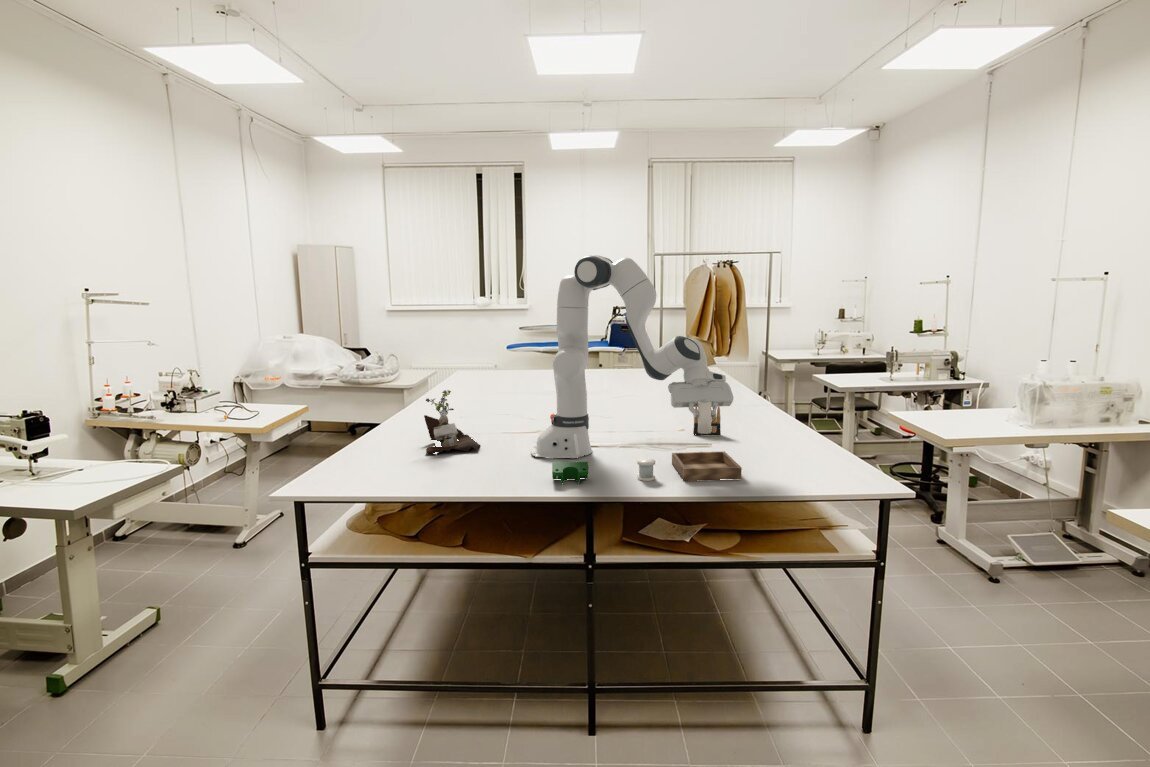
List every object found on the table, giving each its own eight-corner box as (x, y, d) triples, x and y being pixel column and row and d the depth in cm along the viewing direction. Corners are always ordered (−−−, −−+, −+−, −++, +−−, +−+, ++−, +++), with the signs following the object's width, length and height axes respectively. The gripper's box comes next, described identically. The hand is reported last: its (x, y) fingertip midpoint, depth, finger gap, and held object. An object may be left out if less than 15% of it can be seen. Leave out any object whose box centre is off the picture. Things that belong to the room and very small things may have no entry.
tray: (683, 481, 182) (683, 469, 181) (671, 464, 200) (671, 452, 199) (741, 479, 183) (741, 467, 182) (724, 462, 200) (724, 451, 200)
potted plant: (428, 463, 214) (413, 396, 215) (431, 461, 232) (417, 400, 233) (482, 450, 217) (466, 384, 219) (481, 449, 236) (467, 388, 237)
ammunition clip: (720, 434, 238) (720, 405, 236) (720, 435, 236) (721, 406, 234) (693, 434, 240) (693, 405, 238) (693, 435, 238) (694, 406, 236)
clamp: (559, 497, 183) (547, 474, 179) (558, 486, 188) (547, 464, 185) (594, 483, 181) (583, 460, 178) (593, 473, 187) (582, 450, 183)
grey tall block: (699, 433, 189) (700, 401, 187) (696, 430, 193) (696, 399, 191) (712, 433, 189) (713, 401, 187) (709, 430, 193) (709, 398, 192)
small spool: (638, 481, 183) (638, 463, 182) (636, 476, 188) (636, 458, 187) (656, 481, 183) (656, 463, 182) (653, 475, 188) (653, 458, 187)
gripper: (668, 376, 195) (674, 412, 187) (729, 375, 195) (738, 410, 187) (666, 387, 200) (671, 422, 192) (725, 386, 201) (733, 420, 192)
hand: (705, 416), depth 190 cm, fingers closed on grey tall block, 4 cm apart
